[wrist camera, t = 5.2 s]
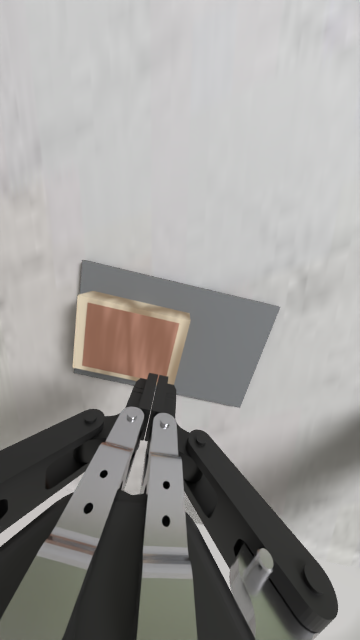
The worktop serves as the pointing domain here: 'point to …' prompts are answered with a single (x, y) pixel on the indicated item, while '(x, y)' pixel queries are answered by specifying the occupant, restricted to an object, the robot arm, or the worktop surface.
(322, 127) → the worktop surface
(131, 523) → the robot arm
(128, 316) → the cream brown rectangular block
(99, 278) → the rubber mat
